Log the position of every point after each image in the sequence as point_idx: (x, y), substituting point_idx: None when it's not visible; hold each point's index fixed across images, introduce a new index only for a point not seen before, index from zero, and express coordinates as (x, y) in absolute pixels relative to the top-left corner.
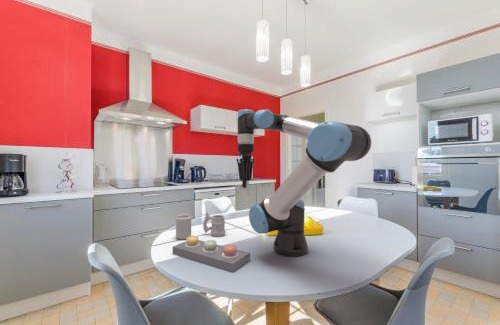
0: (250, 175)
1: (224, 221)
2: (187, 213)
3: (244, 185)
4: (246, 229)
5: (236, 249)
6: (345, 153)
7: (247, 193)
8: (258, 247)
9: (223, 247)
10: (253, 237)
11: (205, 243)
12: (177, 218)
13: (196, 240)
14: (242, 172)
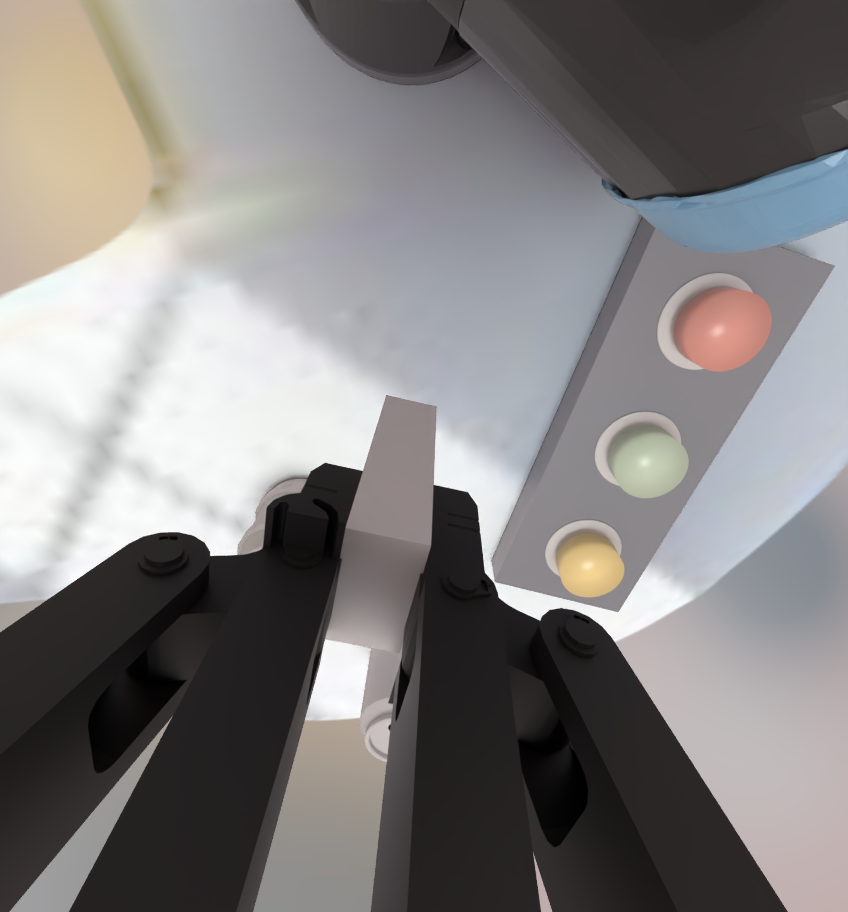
0: (153, 618)
1: (263, 527)
2: (368, 738)
3: (475, 529)
4: (118, 387)
5: (732, 289)
6: None
7: (435, 414)
8: (431, 209)
9: (597, 396)
10: (256, 294)
11: (676, 483)
12: None
13: (605, 545)
14: (731, 877)
